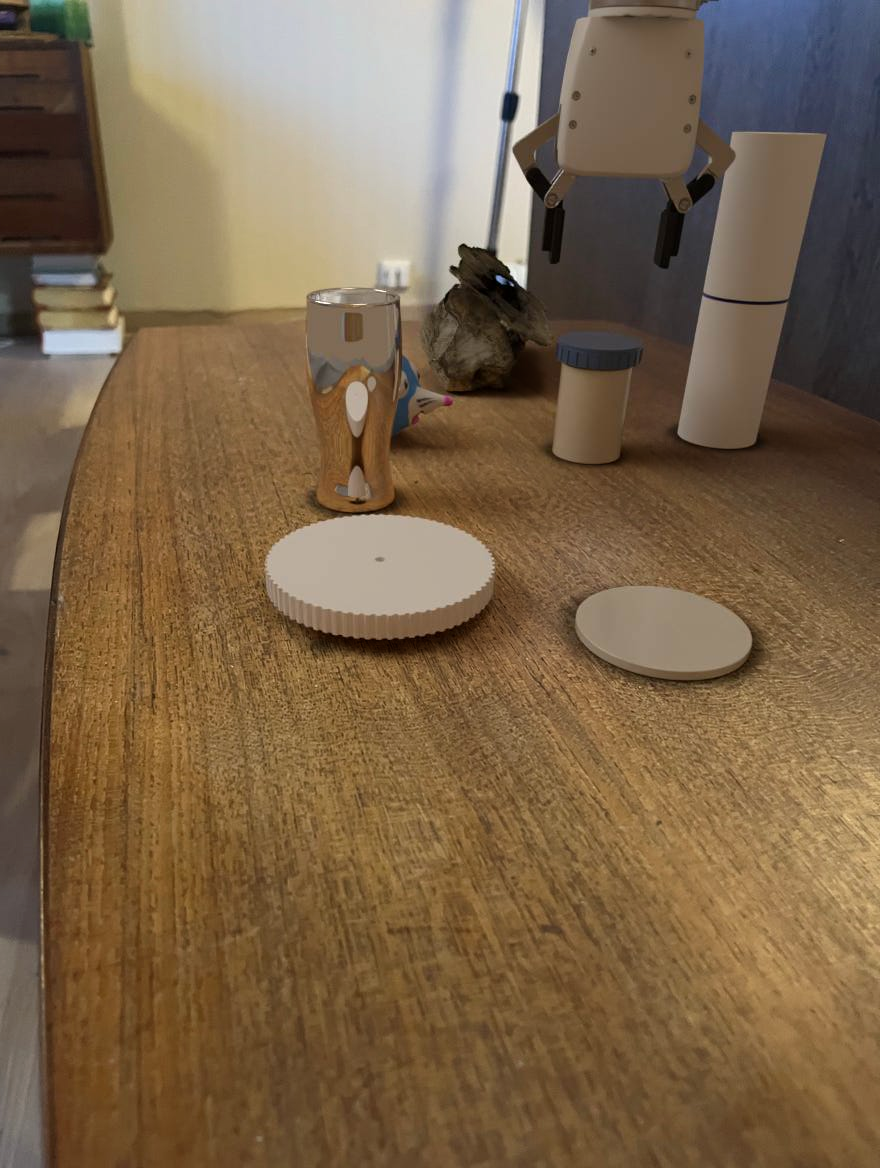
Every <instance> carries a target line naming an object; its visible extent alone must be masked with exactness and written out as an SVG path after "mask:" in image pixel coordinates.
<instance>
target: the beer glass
mask: <svg viewBox="0 0 880 1168" xmlns="http://www.w3.org/2000/svg"><path fill="white" fill-rule="evenodd" d="M305 298H306V310H305V312H306V313H305V334H304V341H305V342H304V346H305V347H304V349H305V350H304V351H305V352H304V353H305V368H306V379H307V385H308V393H309V397H310V403H311V406H312V413H313V417H314V421H315V426H316V432H317V437H318V443H319V451H320V452H319V453H320V464H319V465H320V468H319V475H318V481H317V488H316V500H317V501H318V503H319V504H320V505H322V506H323V507H325V508H327V509H330V510H333V511H337V512H341V513H342V512H343V513H369V512H374V511H379V510H382V509H384V508H386V507H389V506H390V505H391V504H392V503H393V502H394V500H395V487H394V482H393V481H394V480H393V476H392V469H391V456H390V455H391V441H392V437H391V436H392V430H393V425H394V419H395V414H396V409H397V403H398V398H399V391H400V384H401V376H402V355H403V329H402V328H403V327H402V315H401V295H400V294H398V293H397V292H395V291H391V290H387V289H381V288H374V287H357V286H356V287H353V286H352V287H351V286H349V287H347V286H346V287H329V288H321V289H316V290H313V291H310V292H308V293H307V294H306V295H305Z"/></svg>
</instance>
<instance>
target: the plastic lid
mask: <svg viewBox="0 0 880 1168" xmlns="http://www.w3.org/2000/svg"><path fill="white" fill-rule="evenodd" d="M264 571H265V572H264V573H265V586H266V593H267V594H268V595H267V596H268V598H269V599H270V602H271V603H273V606H274V607H275V608H277V610H278V611H279V612H283V616H285V617H289V620H292V621H296V624H298V625H299V624H300V625H301V624H302V625H304V627H306V628H312V629H313V631H314V630H315V631H321V632H322V633H324V634H329V633H330V634H332V635H333V636H339V635H340V636H342V637H344V638H349V637H353V639H357V640H358V639H360V638H362V639H363V638H364V639H365V640H371V639H375V640H379V641H381V640H383V639H387V640H390V641H391V640H393V639H398V640H404V639H405V638H409V639H412V638H415V637H417V636H419V637H425V636H426V635H427V634H429V635H435V634H436V632H439V633H440V632H441V633H442V632H445V631H446V629H449V630H451V629H453V628H454V627H455V626H461V625H462V623H463V622H464V623H466V622H468V621H469V620H470V618H471V619H474V618H475V617H476V614H477V615H479V614H481V610H485V608H486V606H487V605H488V604H489V601H491V600H492V596H493V593H494V585H495V575H496V562H495V557H493V553H492V552H491V550H490V549H489V548H487V545H486V544H483V541H481V540H478V537H476V536H473V535H472V534H471V533H467V531H465V530H460V528H458V527H453V526H452V525H451V524H445V522H437V520H429V519H428V518H420V517H418V516H415V517H412V516H411V515H405V516H404V515H402V514H397V515H394V514H384V513H379V514H375V513H372V514H369V515H368V514H367V515H366V514H360V515H356V514H353V515H351V516H348V515H346V516H343V517H335V518H333V519H330V518H328V519H325V520H324V521H323V520H320V521H317V522H316V523H310V525H304V526H303V527H301V528H296V530H295V531H290V532H289V534H286V535H284V536H283V538H280V539H279V540H278V541H276V542H275V543H274V545H272V546H271V547H270V549H269V550H268V552H267V554H266V556H265V559H264Z"/></svg>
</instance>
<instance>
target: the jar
mask: <svg viewBox="0 0 880 1168" xmlns="http://www.w3.org/2000/svg"><path fill="white" fill-rule="evenodd" d="M633 370H634V367H632V368H628V369H620V370H596V369H586V368H580V367H575V366H571V365H567V364H565V363H562V362H561V365H560V373H559V383H558V391H557V392H558V393H557V401H556V411H555V419H554V429H553V437H552V438H553V439H552V447H551V451H552V454H554V455H555V456H556V457H558V458H559V459H562V460H564V461H568V462H572V463H576V464H584V465H585V464H586V465H601V464H602V465H603V464H608V463H612V462H615V461H617V460H619V458H620V457H621V450H622V445H623V444H622V443H623V439H624V438H623V437H624V430H625V424H626V417H627V411H628V405H629V398H630V390H631V384H632V379H633V378H632V377H633Z"/></svg>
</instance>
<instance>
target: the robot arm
mask: <svg viewBox="0 0 880 1168" xmlns="http://www.w3.org/2000/svg"><path fill="white" fill-rule="evenodd" d="M719 1H720V0H589V2H588V11H587V16H585V17H580V18H577V19H576V21H575V23H574V28H573V31H572V35H571V39H570V43H569V48H568V53H567V57H566V62H565V67H564V73H563V78H562V84H561V91H560V97H559V103H558V104H559V105H558V111H557V113H556V114H554V115H552V116H551V117H550V118H548V119H547V120H546V121H544V122H543V123H541V124H540V125H538V126H537V127H536V128H534V129H533V130H531V131H530V132H528V133H527V134H525V135H524V136H523V137H521V138H520V139H519V140H517V141H516V142H514V144H513V145H512V147H511V151H512V155H513V157H514V158H515V160H516V163H517V164H518V166H519V169H520V170H521V172H522V174H523V176H524V178H525V180H526V182H527V183H528V184H529V186H530V188H531V189H532V190H533V191H534V192H535V193H536V195H537V196H538V197H539V199H540V200H541V201H542V203H543V204H544V206H545V208H544V216H543V217H544V218H543V226H542V235H541V237H542V238H541V248H540V249H541V250H540V251H541V252H548V255H547V260H548V262H549V265H558V263H559V264H560V261H561V254H562V244H563V236H564V227H565V218H566V210H565V208H564V197H565V196H566V195H567V193H568V192H569V190H570V189H571V188H572V187H573V185H574V184H575V182H576V181H577V179H579V177H596V178H597V177H599V178H624V179H625V178H626V179H627V178H628V179H658V180H659V181H660V184H661V187H662V189H663V192H664V193H665V197H666V199H667V202H666V207H665V208H664V209H663V211H661V213H660V217H659V223H658V230H657V237H656V243H655V247H654V248H655V249H654V254H653V263H654V264H655V265H656V266H657V267H658V268H659V269H660V270H668V269H669V268H670V263H671V257H673V258H674V257H675V258H676V257H678V254H679V250H680V245H681V239H682V235H683V228H684V222H685V216H686V213H688V212H689V211H690V210H691V209H692V207H693V206H694V205H695V204H697V203H698V202H699V201H700V200H702V198H703V197H705V195H707V194H708V193H709V192H710V191H711V190H712V189H713V188H714V186H715V184H716V183H717V182H718V181H719V180H720V179H721V177H722V176H723V175H725V171H726V170H727V169H728V168H729V167H730V165H731V164H732V163H733V162H734V160H735V158H736V153H735V151H734V150H733V149H732V148H731V147H730V144H728V143H726V141H724V140H723V139H722V138H721V137H720V136H719V135H718V134H717V133H716V132H715V131H714V130H713V129H712V128H711V127H710V126H708V125H707V124H706V123H705V122H704V121H703V120H702V119H701V118H700V110H701V101H702V88H703V77H704V76H703V75H704V67H705V66H704V64H705V20H703V19H698V18H697V11H700V8H701V7H702V6H703V5H704V4H708V3H709V2H719ZM552 139H554V144H553V160H554V161H553V162H554V163H555V165H556V166H557V167H558V168H559V170H558V171H557V173H556V174H555V176H554V177H553V179H552V180H551V181H549V179H547V177H546V175H545V174H544V173H543V172H542V170H541V169H540V166H539V165H538V163H537V161H536V158H535V153H536V151H537V150H538V149H539V148H541V147H543V146H545V144H547V143H548V142H550V141H551V140H552ZM696 146H697V147H699V148H700V149H701V150H702V151H703V152H704V153H705V154H706V155H707V157H708V162H707V163H706V165H705V166H704V168H703V169H702V170H701V172H700V173H698V174H696V176H695V177H694V178H693V179H692V180H691V181H689V182H688V183H687V184H686V182H685V179H684V178H683V175H684V174H685V173H686V172H687V171H688V170H689V168H690V167H691V164H692V160H693V157H694V154H695V153H694V152H695V148H696Z"/></svg>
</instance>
